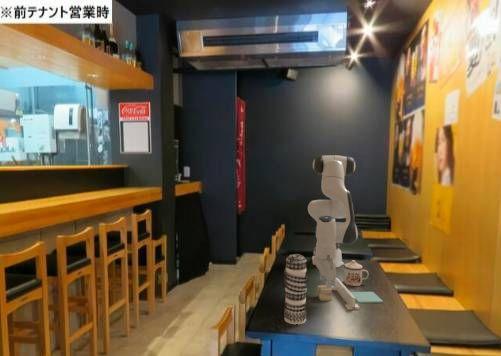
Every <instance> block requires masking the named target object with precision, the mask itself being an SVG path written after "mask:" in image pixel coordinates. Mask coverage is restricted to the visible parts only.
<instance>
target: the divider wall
mask: <svg viewBox="0 0 501 356" xmlns="http://www.w3.org/2000/svg"><path fill="white" fill-rule="evenodd" d="M330 288H331V289H332V291H337V293H338V294H339V295H340V296H341V297H342V299H343V300H344V301H345V302H346V303H345V306H344V307H345V308H346V309H347V310H348V311H349V310H352V311H353V310H356V311H358V310H360V309H361V308H360V306H359V304H358V303H356V300H355V297H354V296H353V295H352V293H351V292H352V291H350V290H349V289H348V288H347V287H346V285H345V284H344V283H343V282H342V281H341V280H340V279H339V278H338V277H336V279H335V280H334V285H331V287H330Z"/></svg>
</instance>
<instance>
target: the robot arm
mask: <svg viewBox="0 0 501 356" xmlns="http://www.w3.org/2000/svg"><path fill="white" fill-rule="evenodd" d="M312 169H313V171H314V173H315V174H317V175H321V186H320V187H321V192H322V194H323V195H324V196H325V197H327V198H329V199H316V200H315V199H314V200H311V201H310V202H309V203H308V205H307V212H308V214H309V215H310V216H311V218H312V219H313V220H314V221H316V226H315V229H314V230H315V233H314V234H315V235H314V237H316V244H315V247H314V249H313V250H314V251H313V255H312V258H311V260H312V265H314V266H316V268H317V269H318V271H319V275H320V276H319V279H320V281H322V282H323V281H325V280H326V282H325V285H326V287H327V288H331V286H332V281H335V279H336V278H337V268H340V267H341V266H344V265H345V262H343V257H342V250H341V249H340V244H343V245H349V246H351V245H353V244H354V243H356V242H357V241H358V237H359V233H358V232H359V231H358V228H357V225H356V221H355V220H356V218H355V213H354V212H355V211H354V204H353V199H352V194H351V192H350V191H349V190H347V188H346V185H345V177H349V176H352V175H353V174H354V172H355V170H356V161H355V159H354V158H353V157H351V156H343V155H336V154H335V155H334V154H333V155H331V154H329V155H328V154H327V155H326V154H325V155H324V154H318V155H316V156H315V157H314V159H313V162H312ZM336 219H340V220H341V219H345V221H344V222H340V221H336Z"/></svg>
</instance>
